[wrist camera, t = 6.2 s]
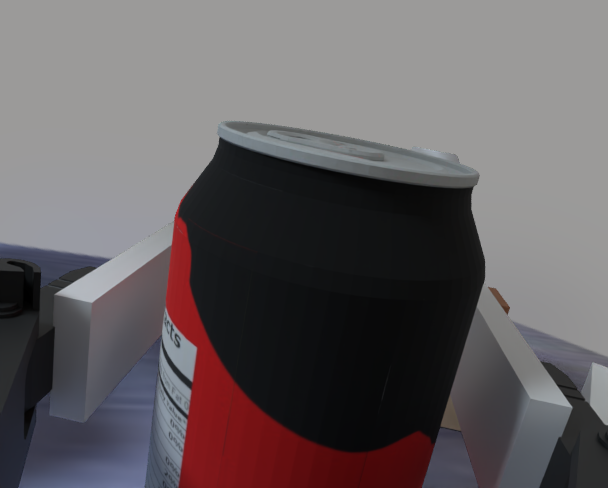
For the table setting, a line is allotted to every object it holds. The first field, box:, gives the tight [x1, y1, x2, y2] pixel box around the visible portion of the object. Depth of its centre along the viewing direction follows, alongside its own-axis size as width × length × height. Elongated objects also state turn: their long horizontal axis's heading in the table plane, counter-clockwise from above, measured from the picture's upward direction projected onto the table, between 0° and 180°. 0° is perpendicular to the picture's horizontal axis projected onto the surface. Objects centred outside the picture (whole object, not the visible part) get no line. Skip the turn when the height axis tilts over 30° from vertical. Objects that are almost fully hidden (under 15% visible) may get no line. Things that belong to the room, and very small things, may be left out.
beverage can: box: [145, 121, 485, 488], centre depth 12 cm, size 6×6×12 cm
